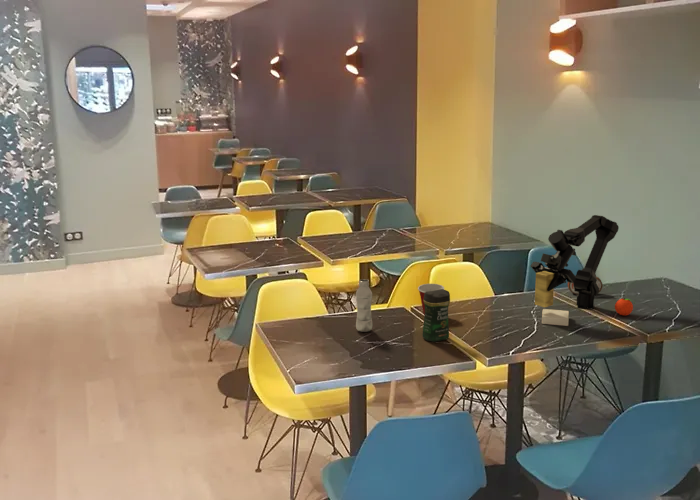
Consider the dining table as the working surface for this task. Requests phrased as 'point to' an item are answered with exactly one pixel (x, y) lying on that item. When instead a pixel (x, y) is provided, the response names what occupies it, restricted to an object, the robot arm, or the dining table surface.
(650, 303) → the dining table surface
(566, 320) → the plinth
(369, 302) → the plastic bottle
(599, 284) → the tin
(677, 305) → the dining table surface
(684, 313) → the dining table surface
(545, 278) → the pillar block
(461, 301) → the dining table surface
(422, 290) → the plastic cup
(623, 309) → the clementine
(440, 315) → the coffee jar
